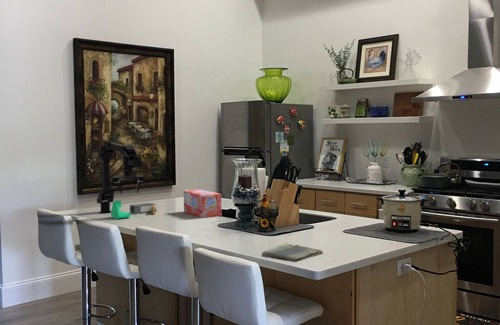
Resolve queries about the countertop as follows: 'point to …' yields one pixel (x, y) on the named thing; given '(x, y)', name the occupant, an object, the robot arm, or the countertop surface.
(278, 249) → the dish towel
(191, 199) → the box
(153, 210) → the door
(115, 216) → the camera mount
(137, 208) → the housing
